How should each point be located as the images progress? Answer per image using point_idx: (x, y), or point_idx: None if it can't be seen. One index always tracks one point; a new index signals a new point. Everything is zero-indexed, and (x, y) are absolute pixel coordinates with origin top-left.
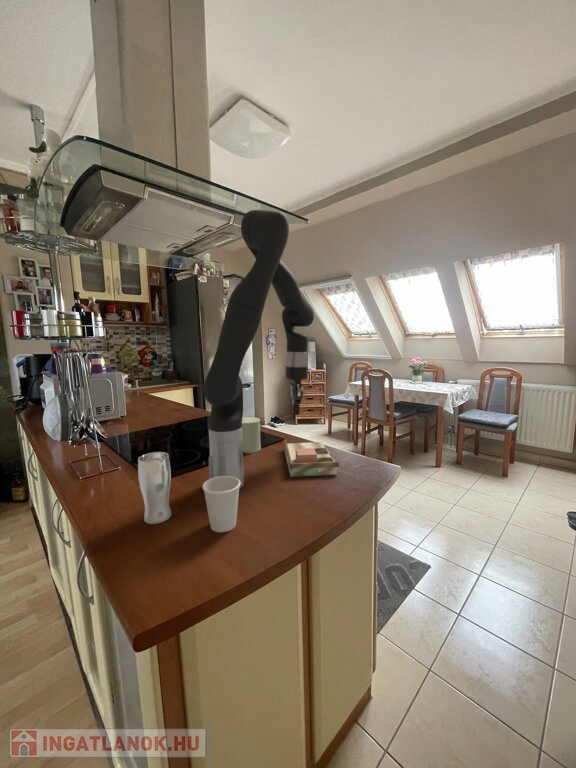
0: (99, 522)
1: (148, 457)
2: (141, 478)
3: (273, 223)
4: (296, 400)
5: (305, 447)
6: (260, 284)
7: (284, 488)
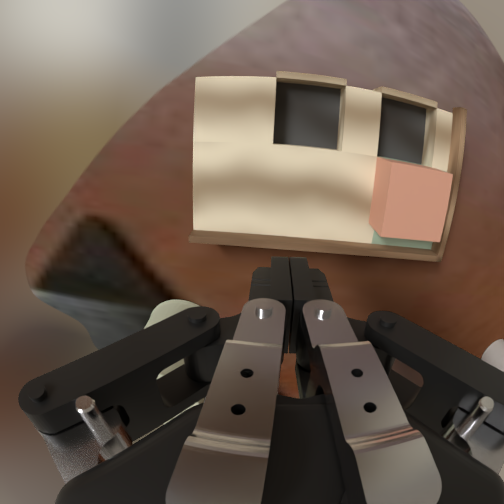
0: None
1: None
2: None
3: None
4: (386, 373)
5: (254, 158)
6: None
7: (464, 268)
